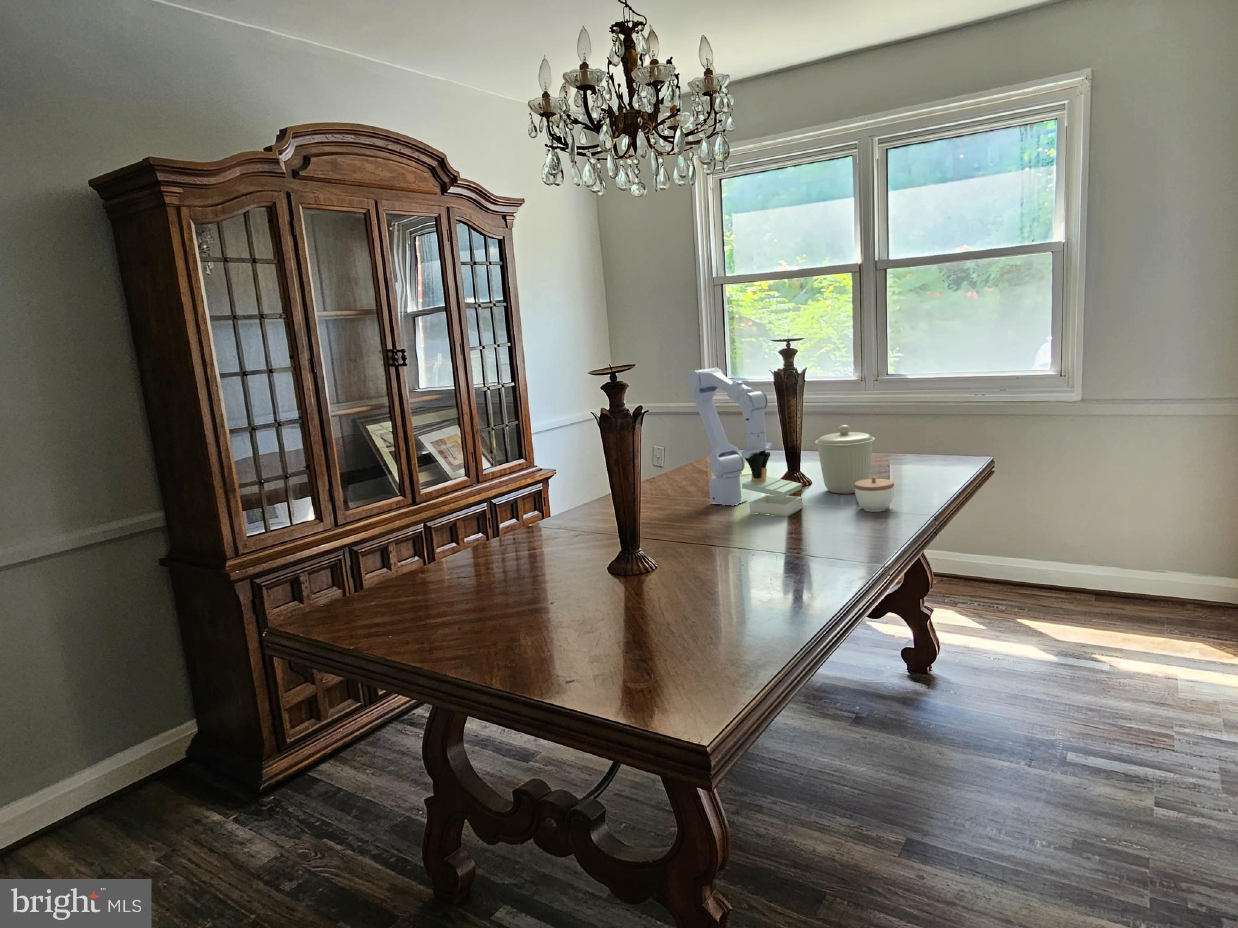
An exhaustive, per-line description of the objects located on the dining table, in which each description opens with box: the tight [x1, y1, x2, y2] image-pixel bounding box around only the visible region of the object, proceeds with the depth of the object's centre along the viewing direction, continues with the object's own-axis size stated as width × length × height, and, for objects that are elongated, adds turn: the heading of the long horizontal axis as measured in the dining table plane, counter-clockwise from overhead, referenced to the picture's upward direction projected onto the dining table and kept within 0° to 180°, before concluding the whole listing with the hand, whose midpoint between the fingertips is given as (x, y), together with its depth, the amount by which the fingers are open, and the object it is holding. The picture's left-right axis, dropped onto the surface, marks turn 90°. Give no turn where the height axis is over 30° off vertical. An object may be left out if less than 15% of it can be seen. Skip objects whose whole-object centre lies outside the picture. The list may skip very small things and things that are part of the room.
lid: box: [741, 467, 803, 498], centre depth 225 cm, size 13×11×6 cm
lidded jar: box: [854, 476, 895, 513], centre depth 217 cm, size 11×11×9 cm
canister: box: [814, 424, 876, 495], centre depth 242 cm, size 18×18×21 cm
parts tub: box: [748, 494, 804, 518], centre depth 226 cm, size 12×10×4 cm
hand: (759, 477), depth 227 cm, fingers closed on lid
